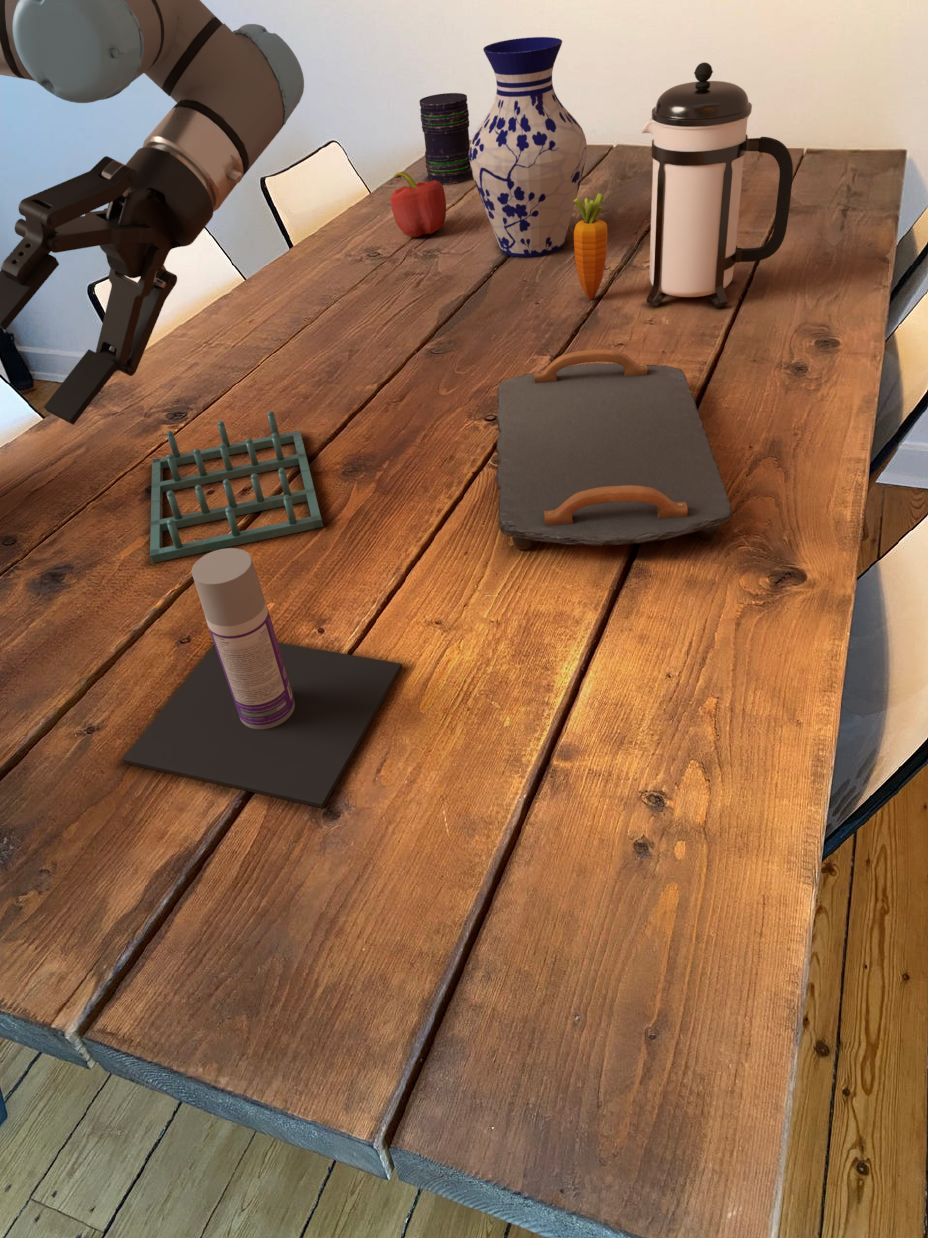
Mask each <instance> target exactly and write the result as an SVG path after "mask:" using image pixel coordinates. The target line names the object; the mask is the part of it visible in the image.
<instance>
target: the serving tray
mask: <svg viewBox="0 0 928 1238" xmlns="http://www.w3.org/2000/svg"><path fill="white" fill-rule="evenodd" d="M602 362H603V363H602ZM495 421H496V424H497V429H498V437H497V440H496V448H495V451H496V455H497V461H496V462H497V469H496V474H495V483H496V485H497V488H498V495H497V498H498V503H497V504H498V509H497V511H498V514H497V515H498V517H497V519H498V521H497V522H498V528H499V532H500V533H502V534H503V535H506V536H509V537H512V542H513V545H514V546H515V547H516V549H517V550H518V551H520V552H527V551H529V550H530V549H531V548H532V546H533V545H534V543H535V542H542V543H548V544H549V543H550V544H559V545H579V546H589V547H590V546H592V547H597V546H599V547H600V546H614V545H615V546H617V545H618V546H619V545H632V544H645V543H650V542H655V541H657V542H658V541H659V542H660V541H663V540H667V539H674V538H678V537H680V536H684V535H686V536H687V535H690V534H693V533H697V534H698V535H699V538H700V539H702V540H705V541H711V540H713V539H714V537H715V536H716V535H717V534H718V532H719V530H720V527H719V526H720V525H722V524H725V523H727V522H729V521H731V520H732V519H733V509H732V504H731V502H730V499H729V497H728V494H727V489H726V486H725V484H724V481H723V479H722V475H721V472H720V467H719V465H718V464H717V461H716V459H715V455H714V453H713V449H712V446H711V444H710V440H709V439H708V434H707V431H706V429H705V425H704V423H703V421H702V417H701V414H700V412H699V411H698V408H697V403H696V401H695V399H694V395H693V393H692V391H691V388H690V384H689V381H688V380H687V376H686V374H685V372H684V370H682V369H681V368H678V367H674V366H671V365H665V364H664V365H662V364H647V363H637V362H635V361H634V360H633V359H632V358H631V357H629V356H628V355H627V354H625V353H624V352H623V351H619V350H615V349H606V348H605V349H604V348H601V349H600V348H597V349H583V350H576V351H572V352H568V353H564V354H561V355H559V356H558V357H556V358H555V359H554V360H553V361H551V362H550V363H549V364H548V365H547V366H546V368H545V369H542V370H538V371H534V372H530V373H525V374H522V375H520V376H511V377H510V378H507V379H505V380H503V381H501V382H499V385H498V387H497V415H496V419H495Z"/></svg>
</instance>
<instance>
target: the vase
mask: <svg viewBox="0 0 928 1238" xmlns="http://www.w3.org/2000/svg"><path fill="white" fill-rule="evenodd" d="M562 44H563V40H562V39H561V38H557V37H551V36H533V37H532V36H531V37H520V38H519V37H518V38H511V39H506V40H500V41H497V42H492V43H490V44H487V45H486V46H484V47H483V49H482V50H483V52H484V55H485V56H486V58H487V60H488V62H489V64H490V66H491V68H492V70H493V74H494V76H495V80H496V81H495V82H496V92H495V97H494V100H493V103H492V106H491V107H490V109H489V111H488V113H487V114H486V116H485V117H484V118H483V120H482V121H481V123H480V125H479V126H478V128H477V129H476V130H475V133H473V136H472V137H471V141H470V149H469V158H470V165H471V170H472V174H473V177H472V178H473V180H474V182H475V185H476V189H477V192H478V194H479V198H480V201H481V203H482V206H483V207H484V210H485V213H486V216H487V218H488V220H489V223H490V225H491V228H492V231H493V233H494V236H495V238H496V241H497V243H498V245H499V248H500V251H501V252H502V253H503V254H505V255H507V256H512V257H515V258H517V257H519V258H534V257H541V256H546V255H550V254H553V253H555V252H558V251H559V250H561V249H562V248H563V247H564V244H565V242H566V241H565V240H566V236H567V233H568V229H569V226H570V222H571V219H572V215H573V213H574V208H575V206H576V204H575V203H574V200H575V199H576V198H578V194H579V190H580V186H581V183H582V178H583V174H584V170H585V165H586V161H587V147H588V145H587V144H588V143H587V138H586V135H585V132H584V129H583V128H582V126H581V125H580V123H579V122H578V121H577V119H576V118H575V117H574V116H573V115H572V114H571V112H569V111H568V110H567V109H566V107H565V106H564V105H563V104H562V102H561V101H560V100H559V98H558V96H557V93H556V92H555V89H554V85H553V71H554V66H555V62H556V60H557V57H558V55H559V53H560V50H561V47H562Z"/></svg>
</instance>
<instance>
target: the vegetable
mask: <svg viewBox="0 0 928 1238" xmlns="http://www.w3.org/2000/svg"><path fill="white" fill-rule="evenodd" d="M393 178H395V179H402V178H403V179H405V181H406V182H407V183H408V185H409V186H402V187H400V188H398V189H396V190H394V191H393V192H392V193H391V196H390V207H391V212H392V214H393V218H394V220H395V224H396V225H397V227H398V228H399V229H400V230H401V231H402V233H403V234H404V235H406V236H408V237H411V238H418V237H421V236H422V235H423V236H424V235H427V234H428V235H429V234H430V235H431V234H434V233H435V232H436V231H439V230H440V229H441V228H442V227H443V226H444V224H445V221H446V216H447V199H446V192H445V189H444V186H443V184H441V183H440V182H438V181H435V180H434V181H430V182H429V181H428V182H424V181H420V182H417V183H416V182H415V181H414V179H413V178H412V176H410V175H409V174H408V173H407V172H404V171H399V172H397V173H395V174H394V175H393Z"/></svg>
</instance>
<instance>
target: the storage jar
mask: <svg viewBox="0 0 928 1238" xmlns="http://www.w3.org/2000/svg"><path fill="white" fill-rule="evenodd" d="M418 102H419V107H420V111H419V112H420V122H421V130H422V132H423V137H424V144H425V145H424V146H425V152H424V157H425V168H426V173H427V181H428V182H430V181H434V180H435V181H438V182H440V183H441V184H442V185H453V184H458V183H463V182H466V181H469V180H471V179H472V178H474V177H473V174H472V170H471V165H470V158H469V149H470V144H471V142H470V132H469V127H470V118H469V117H470V112H469V106H468V95H467V94H465V93H460V92H446V93H445V92H443V93H438V94H432V95H428V96H425V97H422V98H420V99H419V101H418Z"/></svg>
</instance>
